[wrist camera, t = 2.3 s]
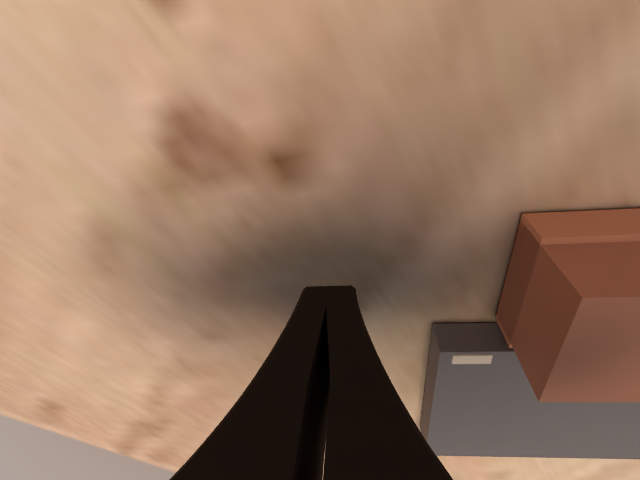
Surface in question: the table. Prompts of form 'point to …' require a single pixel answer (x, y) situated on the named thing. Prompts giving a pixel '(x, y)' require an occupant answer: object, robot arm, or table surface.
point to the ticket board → (511, 405)
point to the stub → (576, 304)
